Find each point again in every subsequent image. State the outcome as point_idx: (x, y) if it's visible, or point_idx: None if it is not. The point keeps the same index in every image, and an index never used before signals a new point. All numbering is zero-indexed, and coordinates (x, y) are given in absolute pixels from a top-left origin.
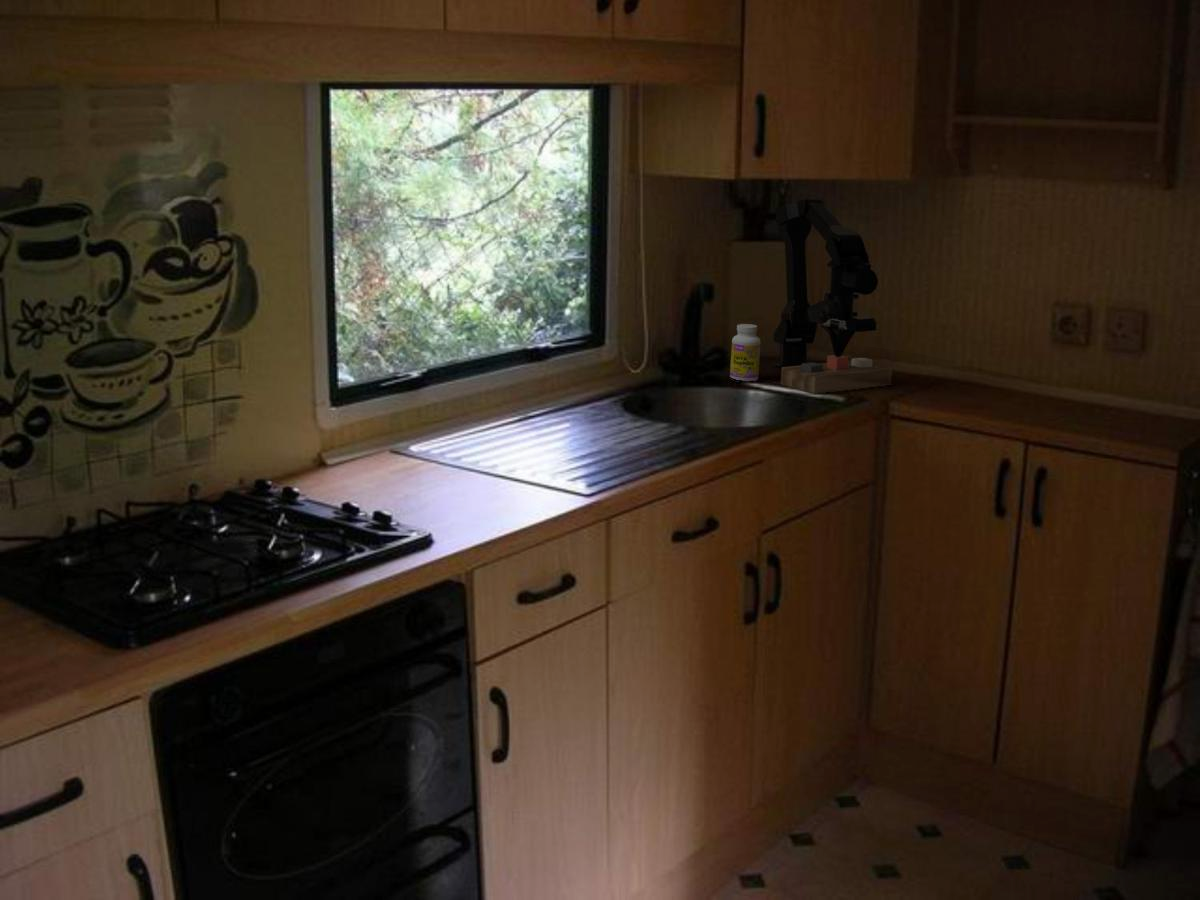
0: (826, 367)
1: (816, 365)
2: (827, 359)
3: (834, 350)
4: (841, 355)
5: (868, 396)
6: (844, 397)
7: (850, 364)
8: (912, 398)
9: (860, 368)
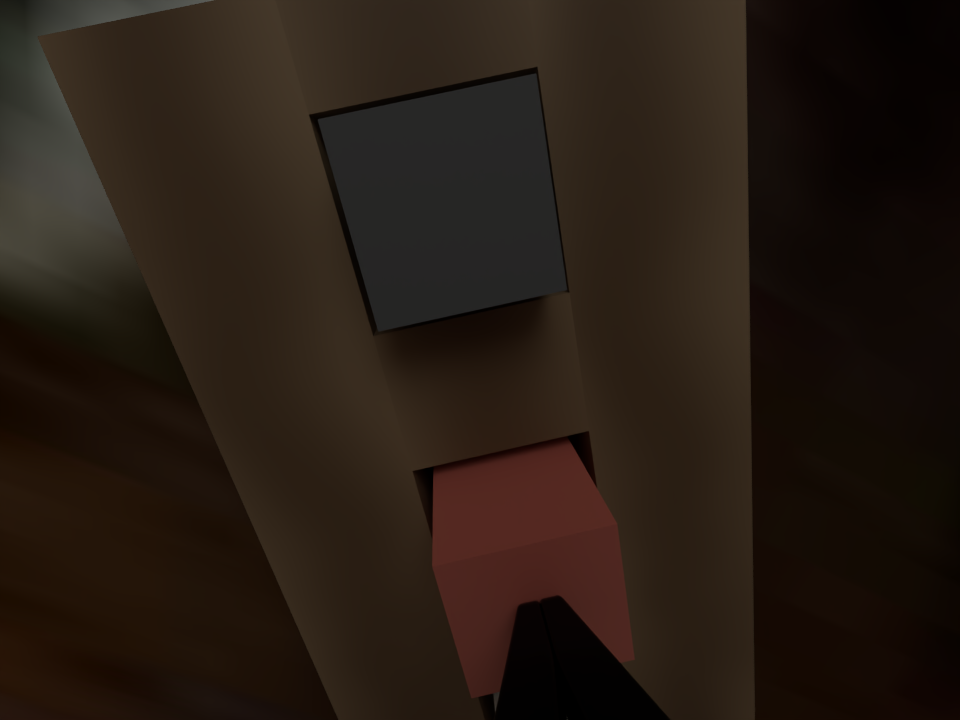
0: (592, 454)
1: (356, 226)
2: (596, 497)
3: (575, 646)
4: None
5: (84, 491)
6: (39, 304)
7: None
8: (23, 703)
9: (449, 683)
